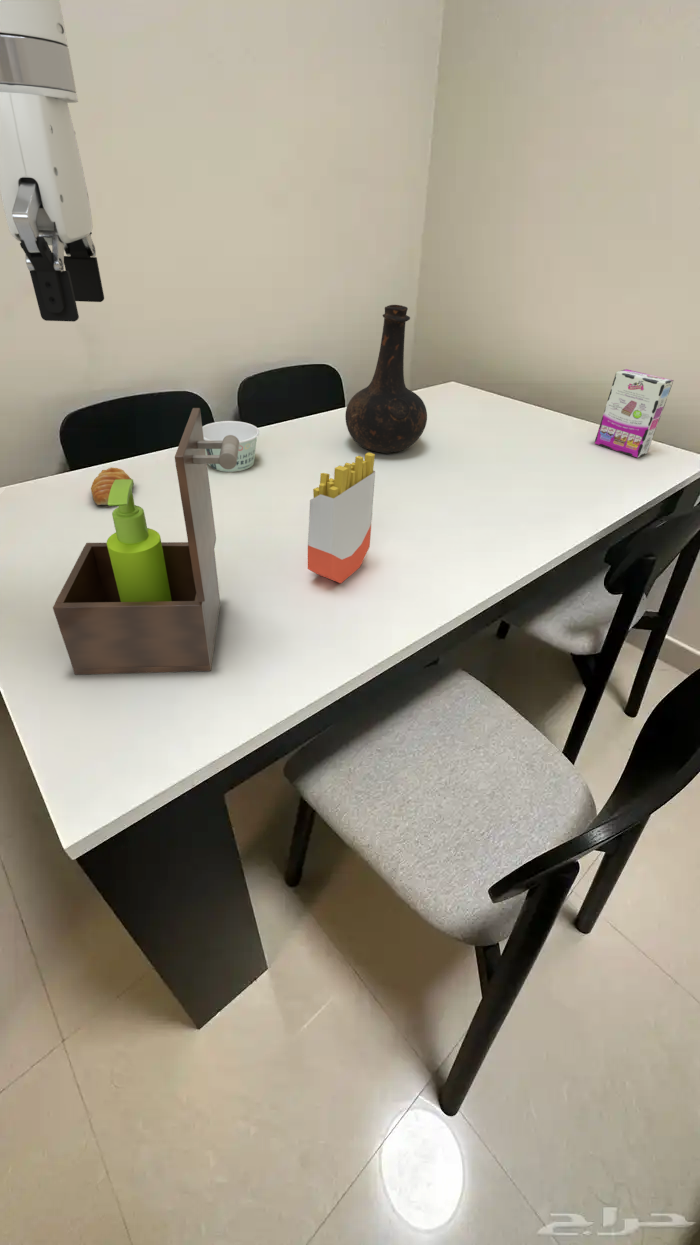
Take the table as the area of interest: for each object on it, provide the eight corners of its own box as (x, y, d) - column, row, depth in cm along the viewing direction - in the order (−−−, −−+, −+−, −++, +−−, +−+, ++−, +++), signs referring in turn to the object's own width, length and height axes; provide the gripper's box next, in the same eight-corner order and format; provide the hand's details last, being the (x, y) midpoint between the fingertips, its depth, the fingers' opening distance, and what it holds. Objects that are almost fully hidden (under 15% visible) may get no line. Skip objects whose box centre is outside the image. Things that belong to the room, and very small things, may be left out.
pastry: (126, 508, 102) (121, 487, 99) (86, 508, 101) (80, 488, 98) (135, 485, 109) (131, 465, 107) (97, 485, 108) (93, 466, 106)
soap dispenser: (124, 650, 71) (85, 500, 59) (131, 615, 76) (98, 472, 64) (173, 646, 72) (145, 498, 60) (177, 613, 77) (153, 471, 65)
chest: (74, 674, 69) (52, 607, 62) (103, 605, 79) (86, 542, 73) (210, 671, 70) (201, 605, 64) (220, 603, 81) (213, 541, 75)
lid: (174, 456, 54) (231, 456, 54) (192, 407, 64) (240, 408, 65) (197, 602, 64) (245, 600, 64) (210, 538, 75) (250, 538, 75)
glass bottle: (354, 463, 122) (362, 315, 104) (336, 433, 135) (340, 297, 118) (434, 459, 125) (455, 315, 108) (408, 430, 139) (423, 298, 122)
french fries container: (305, 581, 86) (305, 466, 75) (344, 551, 94) (349, 442, 82) (331, 592, 84) (334, 475, 73) (369, 560, 92) (377, 450, 81)
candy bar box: (647, 453, 134) (675, 379, 124) (637, 458, 131) (665, 383, 121) (603, 439, 140) (626, 367, 130) (592, 443, 138) (615, 370, 127)
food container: (236, 479, 113) (233, 447, 109) (188, 465, 117) (184, 433, 113) (272, 460, 121) (271, 429, 117) (227, 447, 126) (224, 416, 121)
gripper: (14, 82, 53) (62, 293, 64) (-77, 54, 40) (3, 328, 50) (98, 88, 54) (132, 296, 65) (37, 63, 41) (92, 330, 51)
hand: (75, 310), depth 58 cm, fingers open, 9 cm apart
